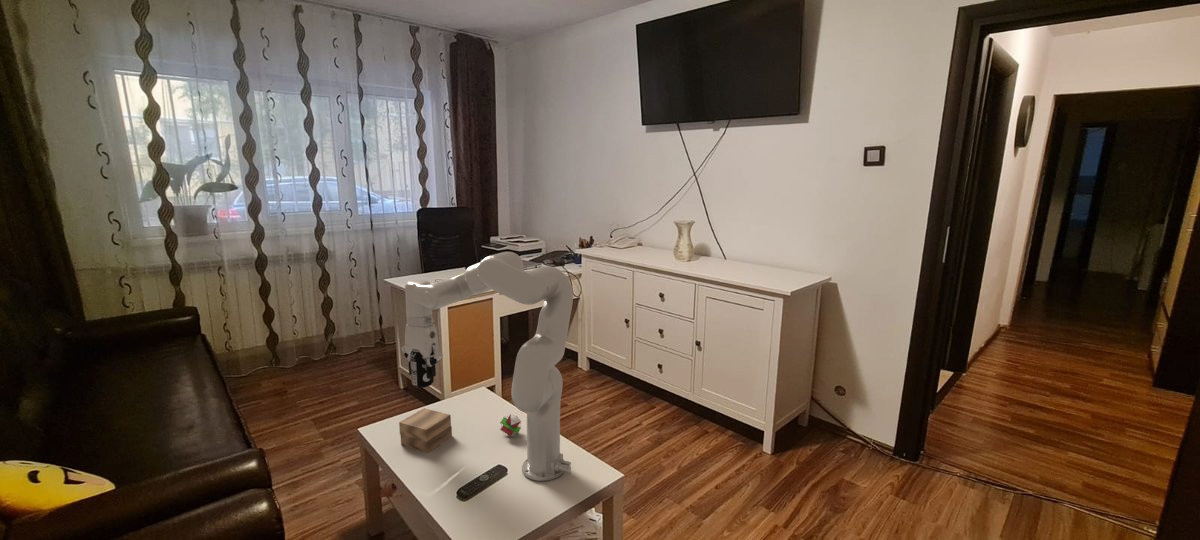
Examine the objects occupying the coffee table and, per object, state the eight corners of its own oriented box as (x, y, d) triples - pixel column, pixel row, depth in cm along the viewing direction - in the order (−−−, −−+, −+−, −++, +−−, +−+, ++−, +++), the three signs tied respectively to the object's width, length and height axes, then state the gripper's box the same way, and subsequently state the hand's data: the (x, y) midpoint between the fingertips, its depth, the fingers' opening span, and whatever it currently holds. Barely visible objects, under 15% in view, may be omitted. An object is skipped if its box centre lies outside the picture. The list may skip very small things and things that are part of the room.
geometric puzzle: (496, 441, 164) (496, 418, 162) (503, 430, 170) (502, 408, 169) (518, 442, 163) (518, 419, 162) (524, 432, 170) (524, 410, 168)
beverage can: (437, 380, 163) (435, 345, 161) (428, 389, 157) (426, 352, 154) (417, 379, 164) (415, 344, 161) (408, 388, 157) (406, 351, 155)
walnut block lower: (452, 437, 166) (451, 426, 166) (428, 454, 156) (427, 442, 156) (426, 430, 171) (425, 419, 170) (401, 446, 161) (400, 434, 160)
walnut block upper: (450, 426, 166) (450, 414, 165) (426, 441, 156) (426, 429, 155) (424, 419, 170) (424, 408, 169) (399, 434, 160) (399, 422, 160)
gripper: (450, 321, 156) (452, 376, 159) (407, 313, 163) (410, 366, 166) (433, 327, 149) (435, 384, 153) (389, 319, 156) (392, 374, 160)
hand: (422, 374), depth 159 cm, fingers closed on beverage can, 6 cm apart
